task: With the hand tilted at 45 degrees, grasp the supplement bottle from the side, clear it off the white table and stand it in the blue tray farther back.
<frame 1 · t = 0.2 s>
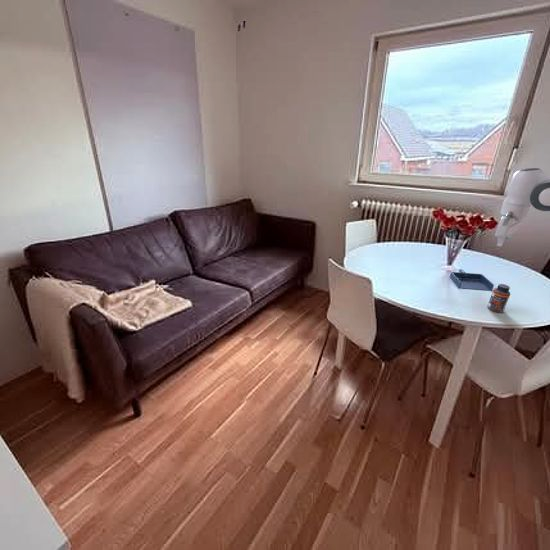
hand: (502, 243, 129), 27 cm above the table, tool pointing down, fingers open, 8 cm apart
supplement bottle: (494, 309, 133), on the table
blue tray: (469, 284, 155), on the table
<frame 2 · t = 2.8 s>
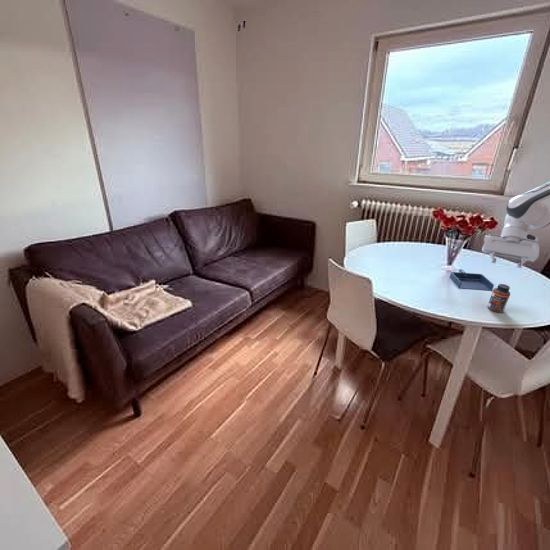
hand: (506, 264, 135), 16 cm above the table, tool tilted 45°, fingers open, 8 cm apart
nothing on the table moved.
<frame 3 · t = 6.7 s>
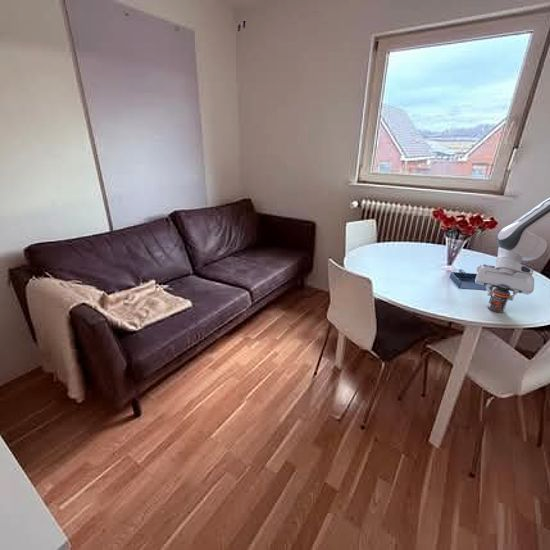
hand: (499, 297, 129), 6 cm above the table, tool tilted 45°, fingers closed on supplement bottle, 6 cm apart
supplement bottle: (494, 309, 133), on the table, touching gripper
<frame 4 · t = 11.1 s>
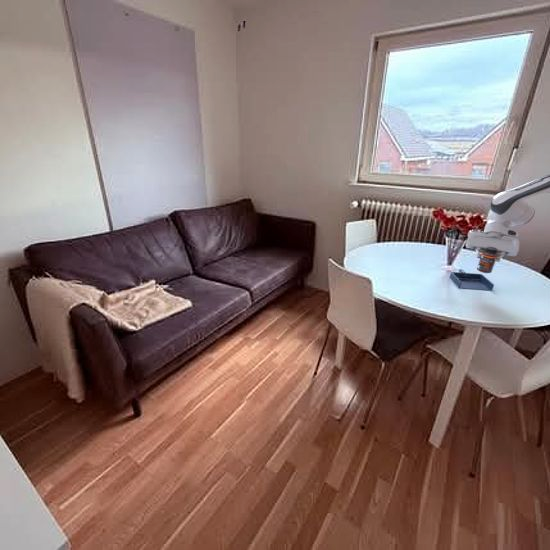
hand: (488, 259, 140), 17 cm above the table, tool tilted 45°, fingers closed on supplement bottle, 6 cm apart
supplement bottle: (483, 271, 143), point 11 cm above the table, touching gripper
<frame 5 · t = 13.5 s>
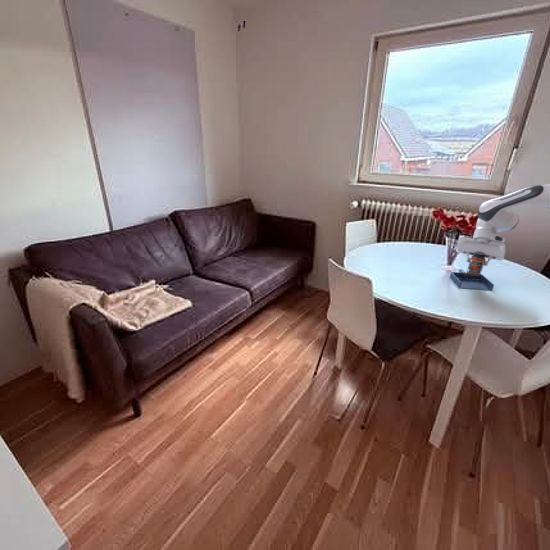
hand: (476, 263, 150), 11 cm above the table, tool tilted 45°, fingers closed on supplement bottle, 6 cm apart
supplement bottle: (473, 274, 153), point 5 cm above the table, touching gripper
when the fingers open (6 cm above the table, at t = 15.5 s): supplement bottle stays where it is, resting on blue tray.
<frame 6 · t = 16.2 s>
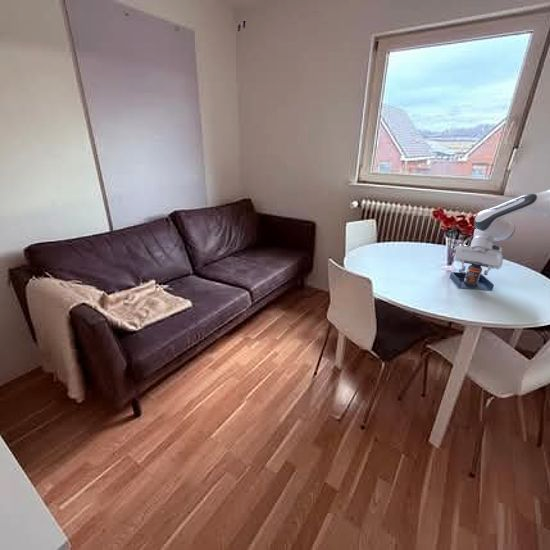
hand: (474, 272, 151), 7 cm above the table, tool tilted 45°, fingers open, 8 cm apart
supplement bottle: (470, 283, 155), resting on blue tray
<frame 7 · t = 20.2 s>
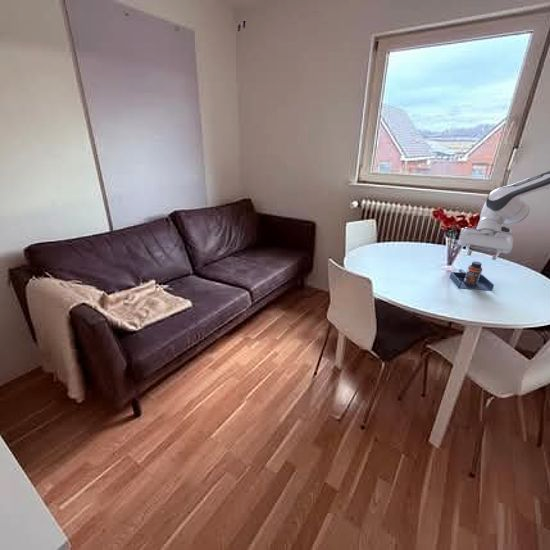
hand: (481, 257, 136), 19 cm above the table, tool tilted 45°, fingers open, 8 cm apart
nothing on the table moved.
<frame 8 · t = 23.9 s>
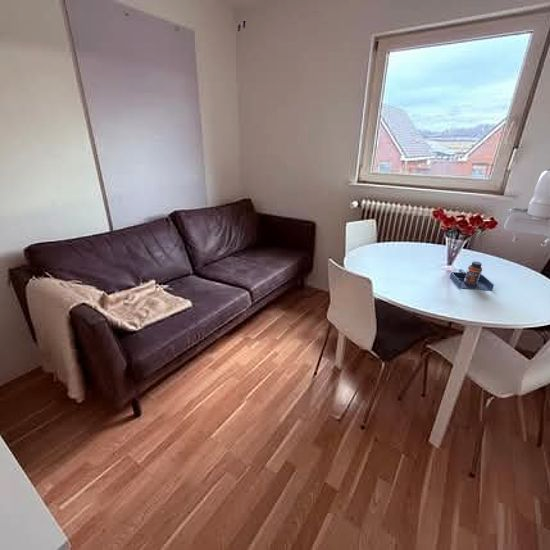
hand: (528, 243, 128), 27 cm above the table, tool pointing down, fingers open, 8 cm apart
nothing on the table moved.
at the end: supplement bottle inside the target area in the blue tray (0.0 cm from its centre), point 0.0 cm above the blue tray's base; supplement bottle tilted 0° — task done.
